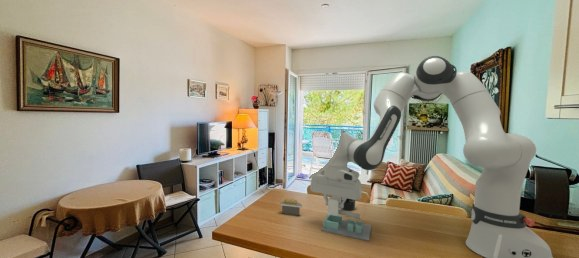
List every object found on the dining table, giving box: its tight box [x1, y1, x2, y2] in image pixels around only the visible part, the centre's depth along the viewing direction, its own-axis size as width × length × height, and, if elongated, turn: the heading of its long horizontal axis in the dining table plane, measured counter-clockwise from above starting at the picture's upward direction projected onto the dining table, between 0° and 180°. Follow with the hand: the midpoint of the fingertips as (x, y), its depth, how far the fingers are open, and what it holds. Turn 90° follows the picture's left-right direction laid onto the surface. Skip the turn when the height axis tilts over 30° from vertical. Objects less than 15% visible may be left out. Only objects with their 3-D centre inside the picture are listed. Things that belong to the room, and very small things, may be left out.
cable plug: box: [327, 195, 361, 220], centre depth 91 cm, size 12×4×6 cm, turn 61°
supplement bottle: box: [341, 197, 356, 211], centre depth 111 cm, size 7×7×12 cm
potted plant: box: [279, 198, 303, 216], centre depth 104 cm, size 12×18×7 cm, turn 75°
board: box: [321, 213, 372, 242], centre depth 91 cm, size 17×12×3 cm
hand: (334, 206), depth 93 cm, fingers closed on cable plug, 4 cm apart
